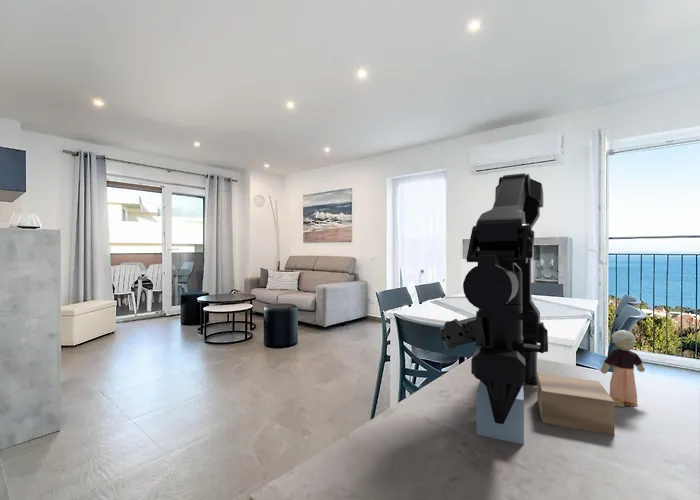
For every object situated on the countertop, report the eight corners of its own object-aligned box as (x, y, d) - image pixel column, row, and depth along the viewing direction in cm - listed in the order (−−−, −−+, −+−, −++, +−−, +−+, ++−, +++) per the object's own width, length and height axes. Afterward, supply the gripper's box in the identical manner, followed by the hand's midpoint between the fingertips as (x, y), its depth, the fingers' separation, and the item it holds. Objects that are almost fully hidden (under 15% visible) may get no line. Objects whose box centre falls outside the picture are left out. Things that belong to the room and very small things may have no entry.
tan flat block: (537, 402, 61) (537, 373, 61) (599, 411, 57) (598, 381, 57) (542, 424, 53) (542, 390, 53) (614, 437, 49) (614, 401, 49)
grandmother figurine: (619, 410, 57) (618, 333, 58) (597, 401, 61) (596, 328, 61) (653, 405, 59) (652, 331, 60) (629, 396, 63) (629, 326, 63)
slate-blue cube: (480, 417, 54) (480, 379, 55) (523, 425, 52) (523, 385, 52) (476, 434, 49) (476, 392, 49) (523, 445, 46) (523, 400, 47)
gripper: (454, 293, 63) (454, 380, 62) (431, 306, 46) (430, 425, 46) (523, 297, 58) (523, 391, 58) (525, 312, 41) (525, 445, 41)
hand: (500, 409), depth 51 cm, fingers open, 9 cm apart
